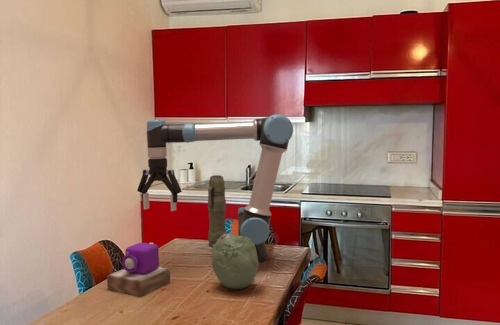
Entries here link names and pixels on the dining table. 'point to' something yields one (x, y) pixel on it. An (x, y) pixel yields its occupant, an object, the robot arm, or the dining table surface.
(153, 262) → the toy camera
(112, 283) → the stand
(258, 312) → the dining table surface
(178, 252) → the dining table surface
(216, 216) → the olive green segmented column
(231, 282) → the cabbage
